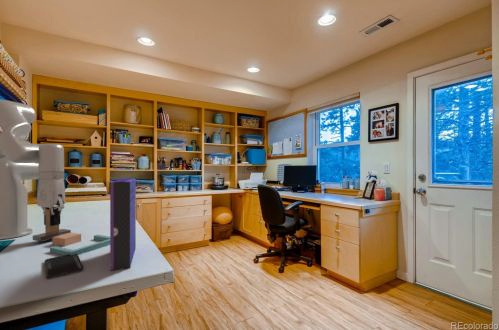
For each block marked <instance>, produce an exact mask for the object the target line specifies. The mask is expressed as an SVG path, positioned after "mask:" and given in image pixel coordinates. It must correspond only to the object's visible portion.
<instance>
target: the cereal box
mask: <svg viewBox="0 0 499 330" xmlns="http://www.w3.org/2000/svg"><path fill="white" fill-rule="evenodd" d="M136 183H137V181H136V178H132V177H131V178H129V177H128V178H119V179H116V180H114V181H110V183H109V185H110V187H109V188H110V191H109V193H110V194H109V195H110V197H109V198H110V199H109V203H110V204H109V207H110V209H109V210H110V211H109V213H110V214H109V215H110V217H109V219H110V220H109V223H110V224H109V227H110V229H109V233H110V234H109V237H110V245H109V249H110V250H109V251H110V253H109V257H110V258H109V259H110V260H109V265H110V266H109V267H110V269H109V270H110V272H112V271H118V270H125V269H126V270H127V269H131V266H132V262H133V259H134V255H135V251H136V246H137V245H136V243H137V242H136V239H137V238H136V237H137V236H136V231H137V228H136V226H137V224H136V222H137V221H136V218H137V217H136V215H137V214H136V212H137V210H136V208H137V207H136V206H137V205H136V202H137V201H136V199H137V198H136V197H137V196H136V190H137V188H136V185H137V184H136Z"/></svg>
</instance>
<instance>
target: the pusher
mask: <svg viewBox="0 0 499 330" xmlns="http://www.w3.org/2000/svg"><path fill="white" fill-rule="evenodd" d="M54 210H55V208H54ZM44 215H45V225H44V226H45V227H44V228H45V230H44V231H45V232H44V233H39V234H34V235H32V241H36V242H43V241H48V240H52V237H55V236H59V235H63V234H66V233H72V232H71V231H72V230H71V229H65V228H61V229H60V224H59V225H55V226H50V215H51V209H45V214H44Z"/></svg>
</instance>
